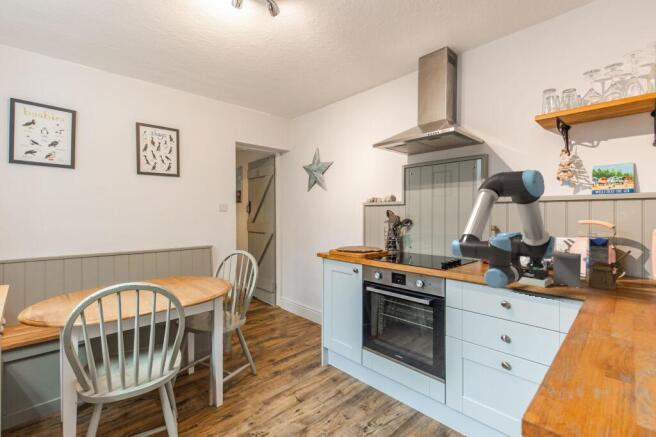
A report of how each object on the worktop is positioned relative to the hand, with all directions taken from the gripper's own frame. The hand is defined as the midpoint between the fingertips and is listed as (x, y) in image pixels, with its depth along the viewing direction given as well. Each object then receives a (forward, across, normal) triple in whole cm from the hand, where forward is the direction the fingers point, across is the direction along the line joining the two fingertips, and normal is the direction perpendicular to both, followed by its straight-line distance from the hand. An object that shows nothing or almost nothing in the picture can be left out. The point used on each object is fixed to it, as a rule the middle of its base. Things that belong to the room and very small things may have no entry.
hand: (527, 268), depth 137 cm
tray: (+11, 0, -9) cm, 14 cm away
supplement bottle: (+11, 0, -8) cm, 14 cm away
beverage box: (+37, +18, -9) cm, 42 cm away
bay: (+13, +10, -9) cm, 19 cm away
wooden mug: (+27, +24, -9) cm, 37 cm away
